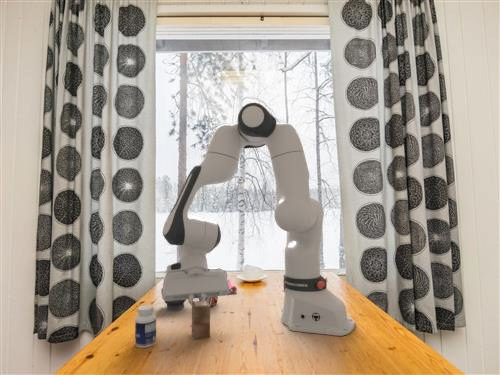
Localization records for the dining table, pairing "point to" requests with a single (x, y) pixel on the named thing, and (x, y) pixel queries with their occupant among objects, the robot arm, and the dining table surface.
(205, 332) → the brown tall block
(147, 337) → the pill bottle
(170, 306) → the mortar and pestle
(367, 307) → the dining table surface
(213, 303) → the soda can
